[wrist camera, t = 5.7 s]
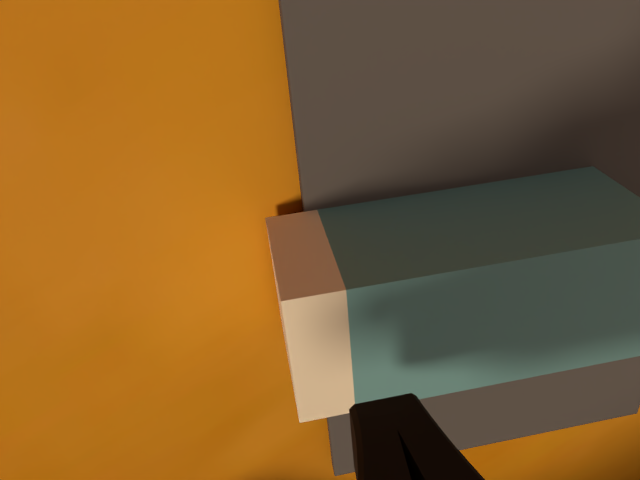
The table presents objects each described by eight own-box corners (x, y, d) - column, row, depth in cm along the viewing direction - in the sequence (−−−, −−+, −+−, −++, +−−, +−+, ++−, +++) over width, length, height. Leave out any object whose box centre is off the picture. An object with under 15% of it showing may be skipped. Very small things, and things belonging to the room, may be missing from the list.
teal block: (282, 326, 18) (573, 274, 19) (299, 422, 15) (652, 353, 16) (265, 217, 16) (592, 166, 17) (280, 301, 13) (688, 230, 14)
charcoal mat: (629, 404, 24) (636, 413, 24) (332, 465, 23) (334, 475, 22) (794, -169, 14) (813, -171, 13) (265, -117, 12) (266, -118, 12)
